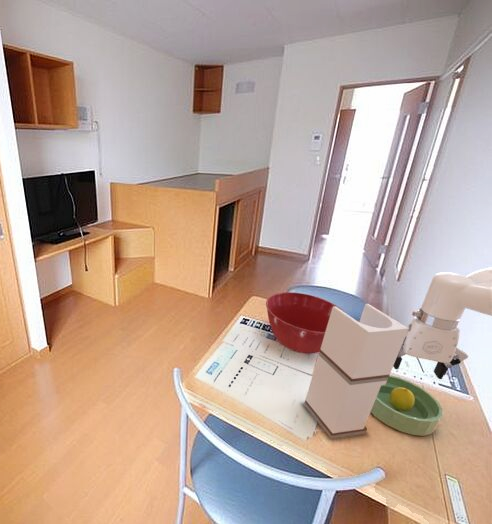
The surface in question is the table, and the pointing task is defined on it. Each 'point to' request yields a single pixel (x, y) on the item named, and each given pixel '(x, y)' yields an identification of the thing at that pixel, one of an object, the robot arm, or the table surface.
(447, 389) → the table surface
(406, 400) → the lemon
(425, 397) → the green bowl
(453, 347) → the robot arm
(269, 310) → the mixing bowl
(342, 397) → the tall white box
